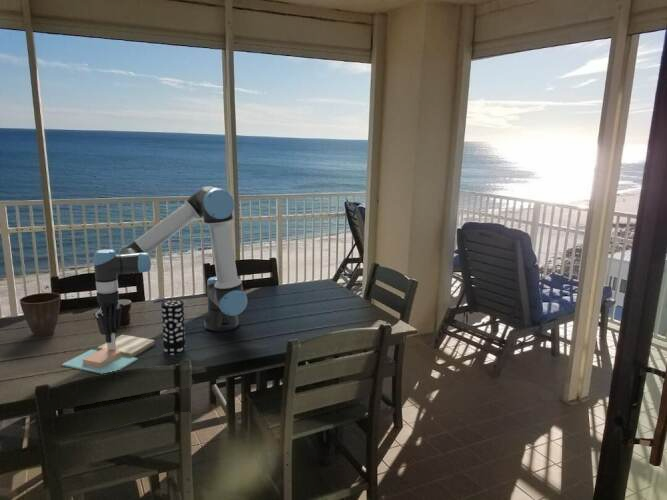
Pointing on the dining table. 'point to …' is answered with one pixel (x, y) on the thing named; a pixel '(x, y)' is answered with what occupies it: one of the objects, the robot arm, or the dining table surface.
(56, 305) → the plant pot
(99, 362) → the terracotta tile
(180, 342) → the white-spotted black cylinder
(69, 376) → the dining table surface
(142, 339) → the board
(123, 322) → the coffee mug
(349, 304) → the dining table surface
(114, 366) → the teal mat
